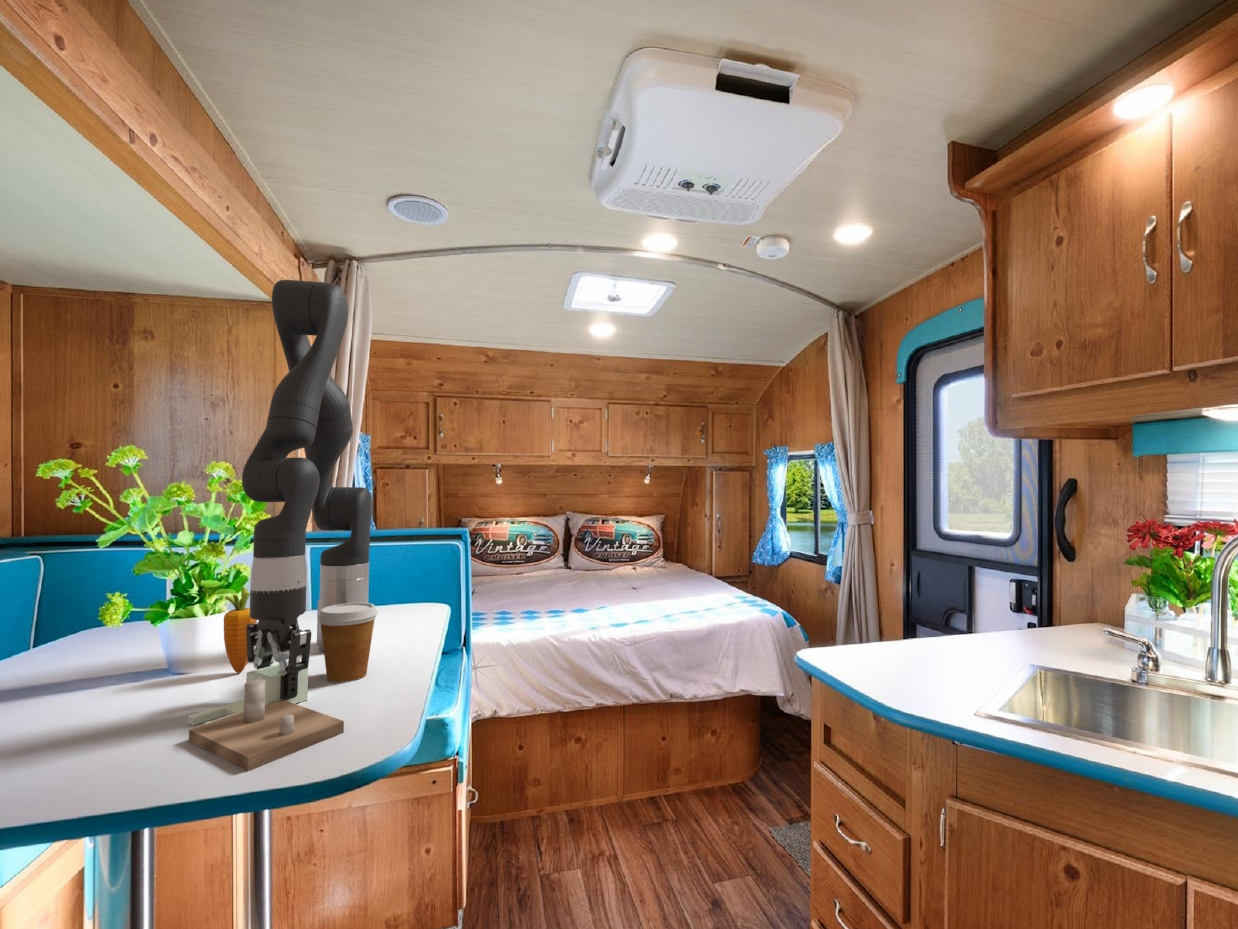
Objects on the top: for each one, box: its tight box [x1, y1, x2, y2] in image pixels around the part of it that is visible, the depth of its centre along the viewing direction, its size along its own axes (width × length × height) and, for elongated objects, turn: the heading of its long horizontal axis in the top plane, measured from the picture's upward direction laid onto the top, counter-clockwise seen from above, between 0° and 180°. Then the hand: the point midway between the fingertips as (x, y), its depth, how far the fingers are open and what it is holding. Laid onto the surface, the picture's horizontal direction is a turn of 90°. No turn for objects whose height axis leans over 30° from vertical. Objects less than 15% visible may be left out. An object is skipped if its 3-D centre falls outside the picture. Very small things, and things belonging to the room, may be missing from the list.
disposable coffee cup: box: [318, 602, 378, 683], centre depth 99 cm, size 10×10×12 cm
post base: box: [188, 680, 345, 772], centre depth 75 cm, size 15×12×6 cm
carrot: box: [223, 587, 258, 675], centre depth 100 cm, size 5×5×15 cm
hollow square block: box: [187, 661, 309, 726], centre depth 83 cm, size 14×6×5 cm, turn 149°
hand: (276, 694), depth 86 cm, fingers closed on hollow square block, 6 cm apart
